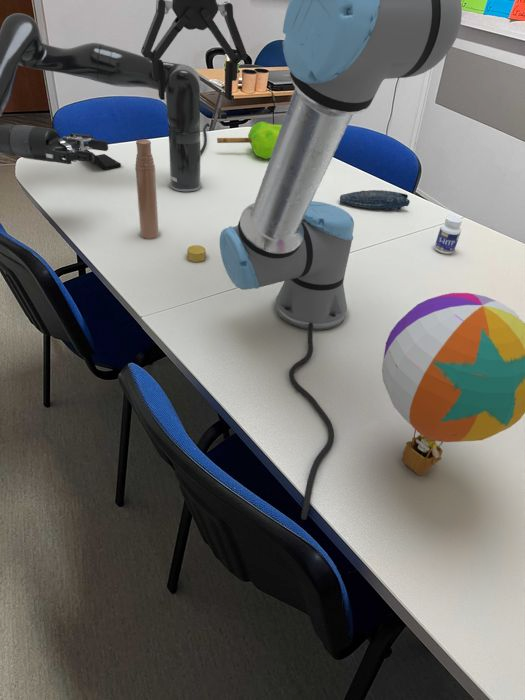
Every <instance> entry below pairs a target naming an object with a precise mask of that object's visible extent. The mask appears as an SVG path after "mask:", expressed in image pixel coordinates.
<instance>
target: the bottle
mask: <svg viewBox="0 0 525 700" xmlns="http://www.w3.org/2000/svg"><path fill="white" fill-rule="evenodd" d="M135 143H136V158H135V165H134V166H135V167H134V168H135V169H134V170H135V180H136V193H137V195H136V196H137V207H138V218H139V220H138V221H139V232H140V237H141V238H143V239H147V240H152V239H153V240H154V239H156V238H158V237H159V235H160V233H159V232H160V231H159V212H158V197H157V196H158V195H157V179H156V166H155V161H154V157H153V154H152V146H151V144H152V142H151V141H150V140H149V139H145V138H144V139H143V138H141V139H137V140H136V141H135Z"/></svg>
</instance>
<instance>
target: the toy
mask: <svg viewBox="0 0 525 700" xmlns="http://www.w3.org/2000/svg"><path fill="white" fill-rule="evenodd" d="M383 353H384V354H383V361H382V366H381V375H382V382H383V385H384V387H385V390H386V392H387V394H388V396H389V399H390V401H391V403H392V405H393V408H394V409H395V410H396V411H397V412H398V413H399V415H400V416H401V417H402V418H403V419H404V420H405V421H406V423H408V424H409V426H411V427H412V428H413V429H414V433H413V437H412V438H411V441H410V440H409V441H406V443H405V447H404V449H403V453H402V457H401V458H402V463H403V464H405V466H407V467H408V468H409V469H411V470H412V471H413V472H414V473H416V474H417V475H418V476H420V477H423V476H424V475H425V474H427V472H428V471H430V470H432V468H434V467H435V466H436V464H437V463H438V462H439V461H442V455H443V449H442V448H441V446H442V444H443V443H461V442H476V441H478V442H479V441H484V440H486V439H488V438H491V437H493V436H496V435H497V434H500V433H502V432H504V431H506V430H508V429H510V428H511V427H513V426H514V425H515V424H517V423H518V422H519V421H520V420H521V419H522V417H523V416H524V415H525V322H524V321H523V320H522V318H521V317H520V316H519V315H518V314H517V313H516V312H515V311H514V310H513V309H511V308H510V307H508V306H507V305H505V304H503V303H502V302H500V301H498V300H495V299H493V298H491V297H488V296H485V295H480V294H477V293H475V294H474V293H470V292H449V293H445V294H442V295H437V296H433V297H431V298H428V299H426V300H424V301H421V302H420V303H417V304H416V305H415V306H414V307H413V308H411V309H410V310H409V311H408V312H407V313H406V314H405V315H404V316H402V317H401V318H400V320H399V321H397V323H396V324H395V325H394V327H393V328H392V329H391V331H390V332H389V334H388V337H387V340H386V341H385V347H384V352H383ZM417 433H418V434H419V435H417V436H416V434H417ZM437 442H439V445H437Z"/></svg>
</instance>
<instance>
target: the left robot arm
mask: <svg viewBox="0 0 525 700" xmlns="http://www.w3.org/2000/svg"><path fill="white" fill-rule="evenodd" d="M162 62H163V68H164V92H165V100H166V101H165V102H166V105H165V106H166V119H167V126H168V127H167V128H168V130H167V131H168V151H169V152H168V153H169V154H168V155H169V157H168V158H169V186H170V188H171V189H172V190H174V191H176V192H177V191H178V192H183V193H184V192H185V193H188V192H189V193H191V192H196V191H198V190H200V189H201V187H202V184H201V155H202V153H203V152H204V150H205V149H206V146H207V141H208V136H207V132H206V129H207V128H208V127H210V124H209V122H207V123H206V124H204V126H203V129H202V131H203V139H204V140H203V145H202V147H201V87H202V84H201V77H200V75H199V73H198V72H197V71H196V69H194V68H193V67H192V66H190V65H188V64H183V63H175V62H169V61H168V62H167V61H163V60H162ZM18 66H21V67H24V68H28V69H32V70H38V71H39V70H40V71H45V72H46V71H47V72H54V73H59V74H65V75H70V76H74V77H78V78H82V79H88V80H91V81H94V82H97V83H102V84H106V85H110V86H114V87H120V88H121V87H123V88H148V89H153V90H157V91H158V80H154V78H153V76H152V62H151V59H149V58H146V57H144V56H143V55H140V54H137V53H134V52H131V51H129V50H126V49H125V50H124V49H121V48H118V47H114V46H111V45H107V44H104V43H99V42H88V43H84V44H80V45H77V46H73V47H68V48H66V47H59V46H58V47H57V46H53V45H49V44H46V43H44V42H43V38H42V33H41V29H40V27H39V25H38V22H36V21H35V19H34V18H33V17H31V16H30V15H28V14H25V13H19V12H17V13H16V12H15V13H12V14H10V15H9V16H7V17H6V18H5V19H4V21H3V22H2V25H1V27H0V117H1V116H2V115H3V114H4V112H5V109H6V107H7V106H8V103H9V101H10V98H11V96H12V92H13V87H14V85H15V83H14V82H15V79H16V73H17V71H18ZM79 145H80V148H79ZM85 150H88V151H90V150H94V151H102V152H107V151H108V150H109V143H108V141H107V140H102V139H95V138H94V135H92V134H84V133H73V132H70V133H69V134H68V135H65V136H62V137H61V136H60V135H59V133H58V132H57V130H55V128H50V127H44V126H43V127H42V126H35V125H27V124H26V125H25V124H23V125H22V124H19V125H18V124H11V123H1V122H0V155H5V156H11V157H20V158H24V159H27V160H32V161H33V160H34V161H43V162H49V163H59V164H65V165H72V162H73V163H77V162H83V163H84V162H85V163H93V161H94V154H95V153H94V152H92V151H90V152H88V151H85Z"/></svg>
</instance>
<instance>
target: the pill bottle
mask: <svg viewBox="0 0 525 700" xmlns="http://www.w3.org/2000/svg"><path fill="white" fill-rule="evenodd" d="M462 222H463V219H461V218H460V217H458V216H455V215H448V216H446V218H445V220H444V223H443V224H442V225H440V228H439V231H438V234H437V237H436V240H435V243H434V250H435V251H437V252H439V253H441V254H447V255H449V254H453V253H454V252H455V250H456V247H457V244H458V242H459V239H460V236H461V233H462V229H461V225H462Z"/></svg>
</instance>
